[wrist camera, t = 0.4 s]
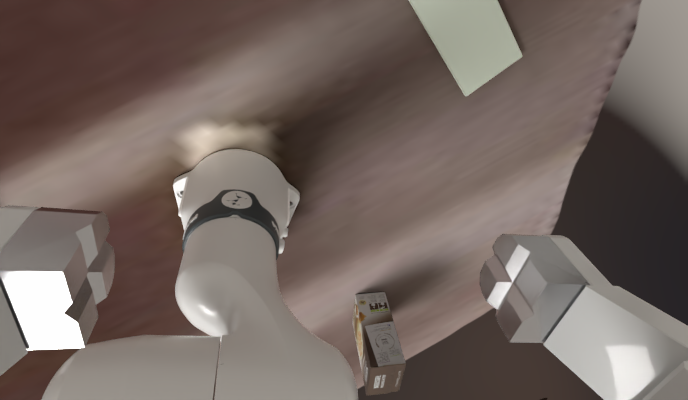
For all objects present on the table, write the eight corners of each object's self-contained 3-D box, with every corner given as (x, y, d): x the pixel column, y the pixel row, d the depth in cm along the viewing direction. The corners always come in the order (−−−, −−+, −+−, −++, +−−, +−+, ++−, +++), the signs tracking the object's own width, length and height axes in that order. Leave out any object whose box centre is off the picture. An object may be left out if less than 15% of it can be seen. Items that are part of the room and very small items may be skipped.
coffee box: (354, 293, 80) (369, 367, 67) (385, 291, 81) (406, 363, 68) (351, 323, 85) (365, 396, 72) (381, 320, 86) (400, 392, 73)
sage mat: (519, 54, 56) (522, 56, 55) (463, 94, 58) (466, 96, 58) (447, -104, 44) (450, -104, 44) (381, -46, 47) (382, -45, 46)
